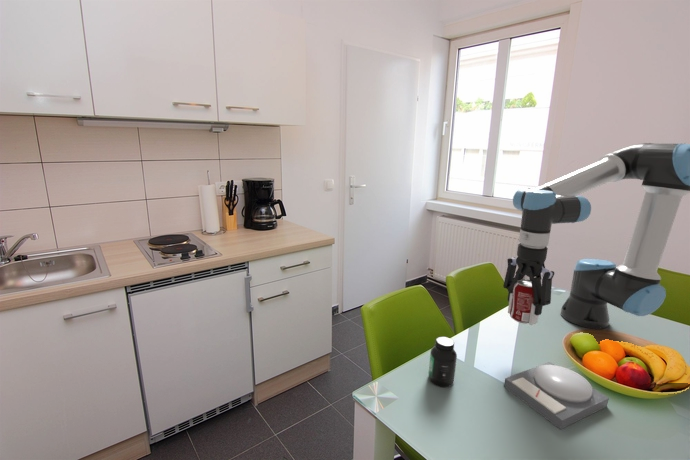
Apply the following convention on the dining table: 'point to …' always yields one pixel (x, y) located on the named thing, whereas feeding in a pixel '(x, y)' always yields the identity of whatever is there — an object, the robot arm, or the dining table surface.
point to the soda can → (522, 301)
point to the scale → (556, 393)
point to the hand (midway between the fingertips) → (522, 317)
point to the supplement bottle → (442, 362)
